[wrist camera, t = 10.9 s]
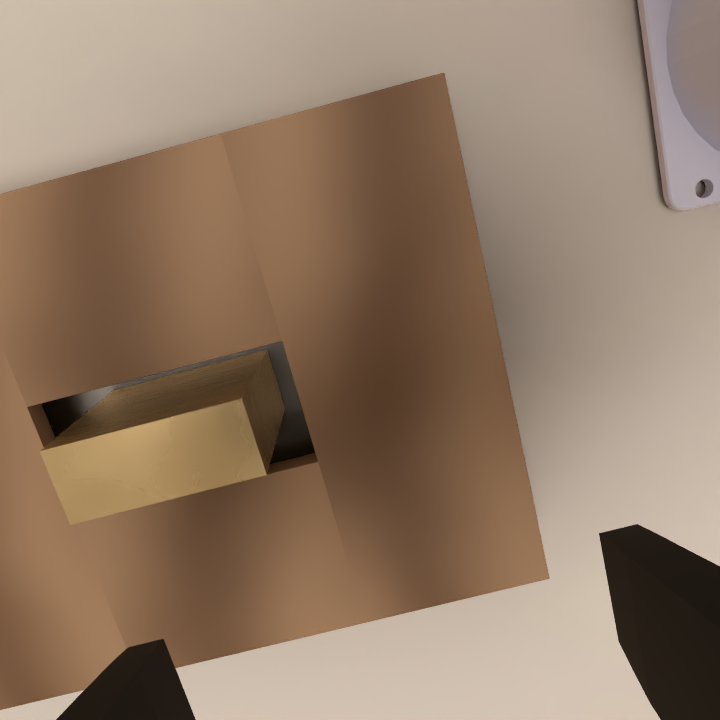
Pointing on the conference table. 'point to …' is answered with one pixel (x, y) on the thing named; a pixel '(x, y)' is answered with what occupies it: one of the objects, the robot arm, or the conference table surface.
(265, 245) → the wooden board with recess
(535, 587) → the conference table surface
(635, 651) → the robot arm
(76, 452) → the wooden block
